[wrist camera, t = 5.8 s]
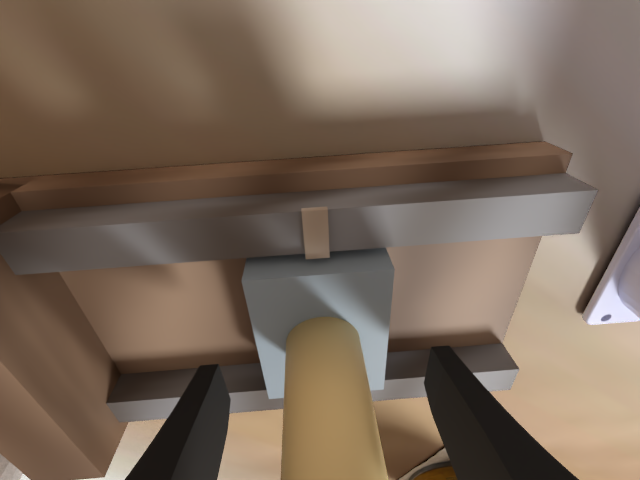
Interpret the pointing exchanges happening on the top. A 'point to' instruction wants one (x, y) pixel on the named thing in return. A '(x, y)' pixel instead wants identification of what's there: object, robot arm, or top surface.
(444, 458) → the condiment
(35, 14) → the top surface
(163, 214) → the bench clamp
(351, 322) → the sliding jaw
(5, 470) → the house plant
